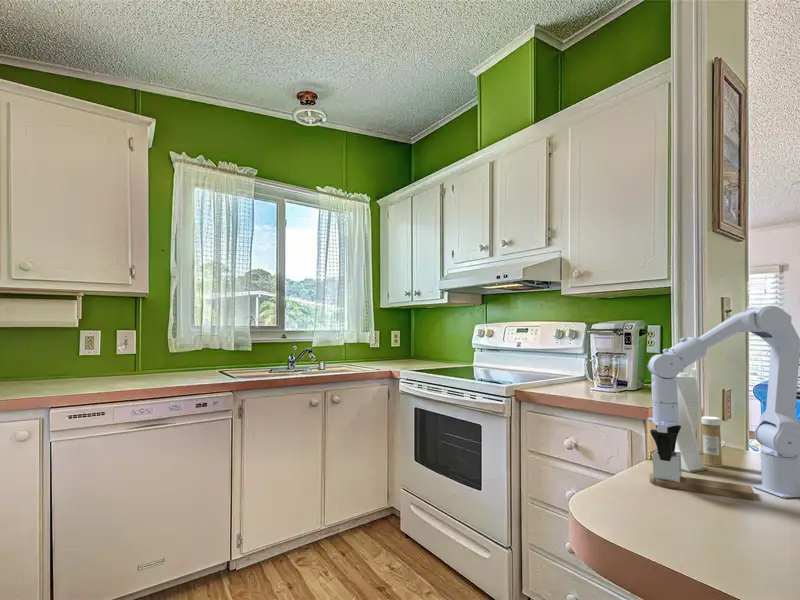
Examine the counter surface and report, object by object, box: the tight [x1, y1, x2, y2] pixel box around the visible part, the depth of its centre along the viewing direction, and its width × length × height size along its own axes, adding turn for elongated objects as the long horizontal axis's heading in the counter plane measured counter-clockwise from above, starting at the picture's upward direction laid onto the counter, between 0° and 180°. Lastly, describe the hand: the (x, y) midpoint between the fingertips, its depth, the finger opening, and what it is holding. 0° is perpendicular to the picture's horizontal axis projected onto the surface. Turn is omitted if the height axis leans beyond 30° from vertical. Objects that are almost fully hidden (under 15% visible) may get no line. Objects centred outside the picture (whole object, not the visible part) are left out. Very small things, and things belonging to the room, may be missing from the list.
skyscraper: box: [674, 367, 707, 474], centre depth 129 cm, size 8×8×28 cm
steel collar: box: [652, 448, 683, 483], centre depth 116 cm, size 6×6×6 cm
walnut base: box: [649, 472, 756, 501], centre depth 112 cm, size 21×8×4 cm, turn 59°
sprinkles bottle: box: [701, 415, 723, 468], centre depth 132 cm, size 5×5×14 cm
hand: (667, 457), depth 116 cm, fingers open, 7 cm apart
